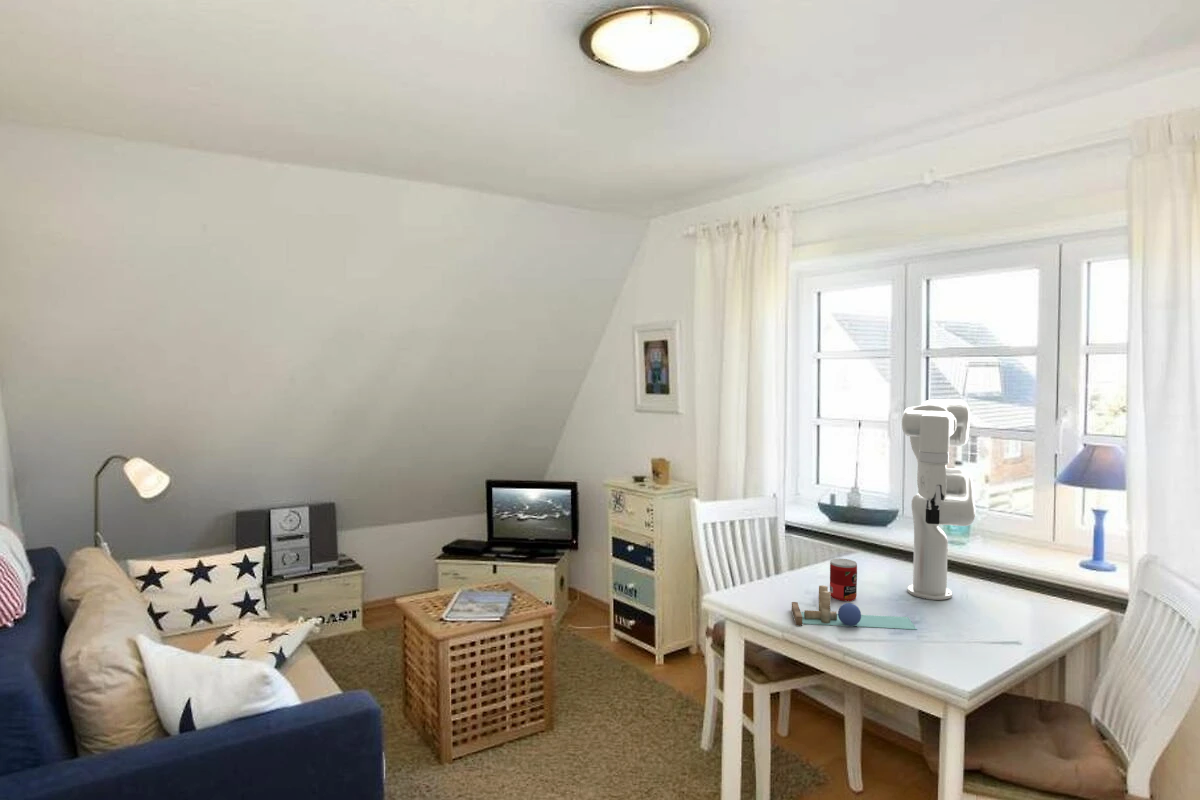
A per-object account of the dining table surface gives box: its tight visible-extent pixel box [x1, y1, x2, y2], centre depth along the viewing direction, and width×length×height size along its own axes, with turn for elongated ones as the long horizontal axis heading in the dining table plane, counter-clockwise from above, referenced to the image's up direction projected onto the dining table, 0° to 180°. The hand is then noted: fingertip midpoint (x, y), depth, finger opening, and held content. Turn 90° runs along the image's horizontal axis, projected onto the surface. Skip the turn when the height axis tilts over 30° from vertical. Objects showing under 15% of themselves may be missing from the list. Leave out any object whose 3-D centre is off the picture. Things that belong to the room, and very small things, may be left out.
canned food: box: [829, 558, 858, 602], centre depth 220 cm, size 8×8×11 cm
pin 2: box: [821, 590, 832, 623], centre depth 199 cm, size 2×2×8 cm
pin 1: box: [818, 584, 829, 611], centre depth 204 cm, size 2×2×8 cm
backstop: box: [791, 601, 803, 627], centre depth 203 cm, size 12×2×2 cm, turn 171°
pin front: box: [803, 609, 838, 620], centre depth 202 cm, size 2×2×8 cm
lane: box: [801, 611, 918, 631], centre depth 201 cm, size 9×30×1 cm, turn 81°
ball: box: [837, 602, 862, 627], centre depth 197 cm, size 6×6×6 cm
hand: (932, 523), depth 201 cm, fingers closed
